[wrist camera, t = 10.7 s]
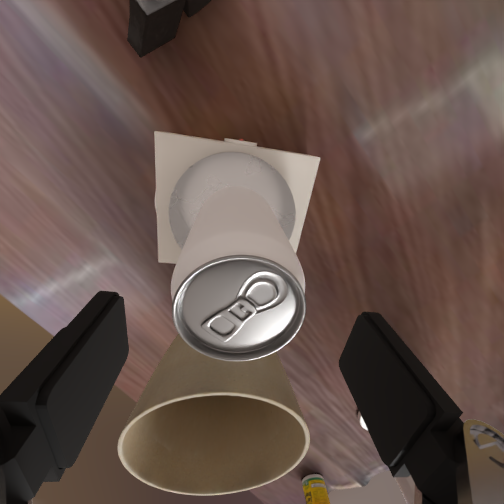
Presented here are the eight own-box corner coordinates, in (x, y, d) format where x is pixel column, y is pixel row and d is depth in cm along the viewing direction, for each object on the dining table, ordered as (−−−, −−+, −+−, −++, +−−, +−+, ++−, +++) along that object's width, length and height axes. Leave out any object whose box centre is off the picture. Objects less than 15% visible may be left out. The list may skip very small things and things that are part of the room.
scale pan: (303, 161, 20) (309, 163, 19) (278, 269, 25) (281, 278, 24) (173, 140, 19) (168, 141, 17) (173, 259, 24) (168, 268, 22)
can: (287, 222, 21) (345, 312, 10) (235, 267, 23) (240, 386, 12) (235, 167, 19) (241, 208, 8) (182, 222, 20) (126, 319, 9)
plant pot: (293, 287, 31) (344, 412, 17) (253, 360, 37) (267, 499, 23) (183, 255, 28) (133, 378, 14) (158, 341, 34) (105, 490, 20)
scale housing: (308, 149, 24) (322, 152, 20) (283, 257, 29) (290, 273, 26) (163, 125, 22) (150, 124, 18) (165, 245, 27) (155, 262, 24)
